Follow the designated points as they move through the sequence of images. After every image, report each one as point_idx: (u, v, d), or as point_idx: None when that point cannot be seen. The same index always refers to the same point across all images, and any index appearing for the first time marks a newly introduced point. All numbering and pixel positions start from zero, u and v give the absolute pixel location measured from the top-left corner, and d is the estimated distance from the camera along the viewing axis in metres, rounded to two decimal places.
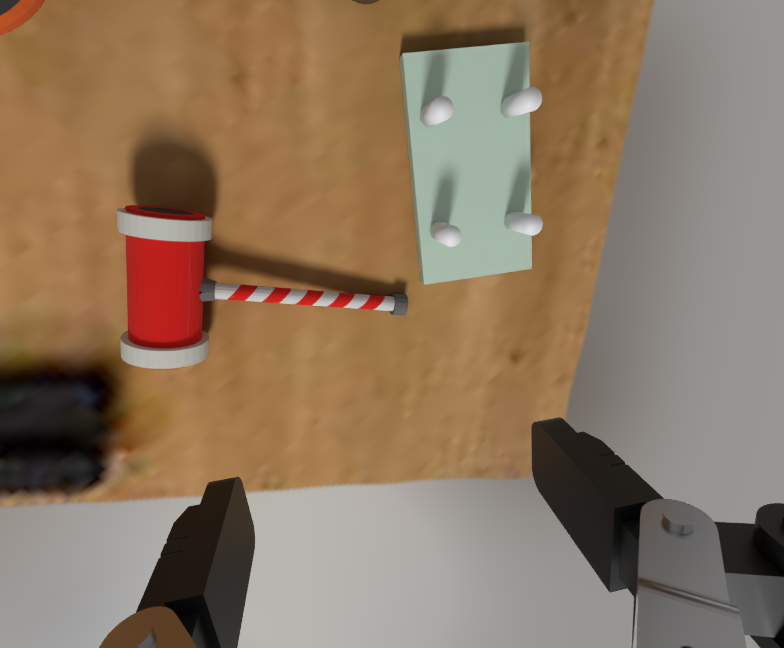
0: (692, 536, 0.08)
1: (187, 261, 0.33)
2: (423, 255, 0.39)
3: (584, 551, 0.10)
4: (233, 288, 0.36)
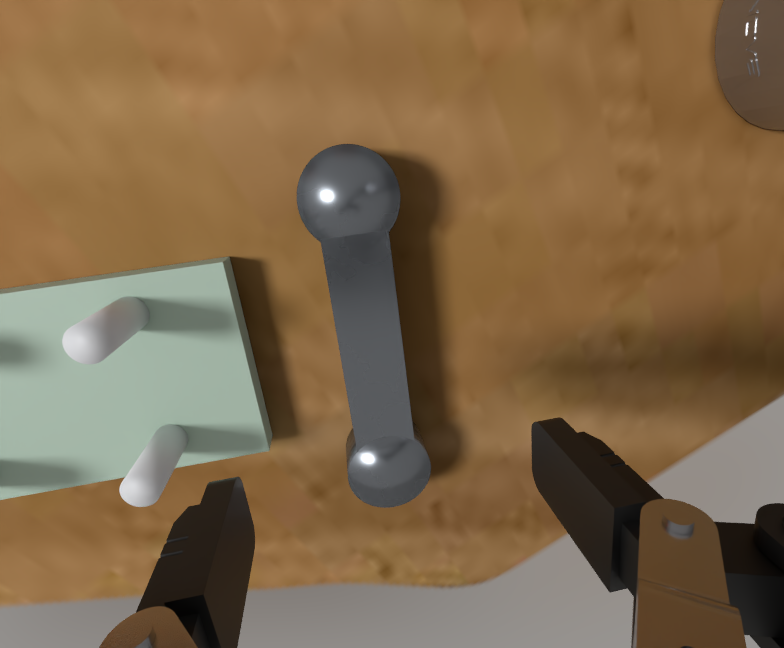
0: (692, 536, 0.08)
1: None
2: None
3: (583, 551, 0.10)
4: None
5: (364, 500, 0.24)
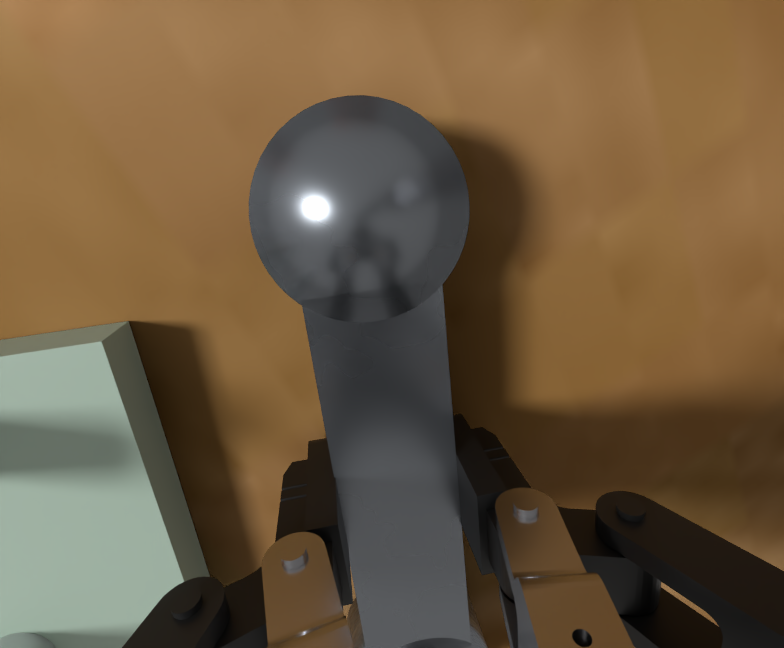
0: (533, 520, 0.09)
1: None
2: None
3: (468, 538, 0.11)
4: None
5: None
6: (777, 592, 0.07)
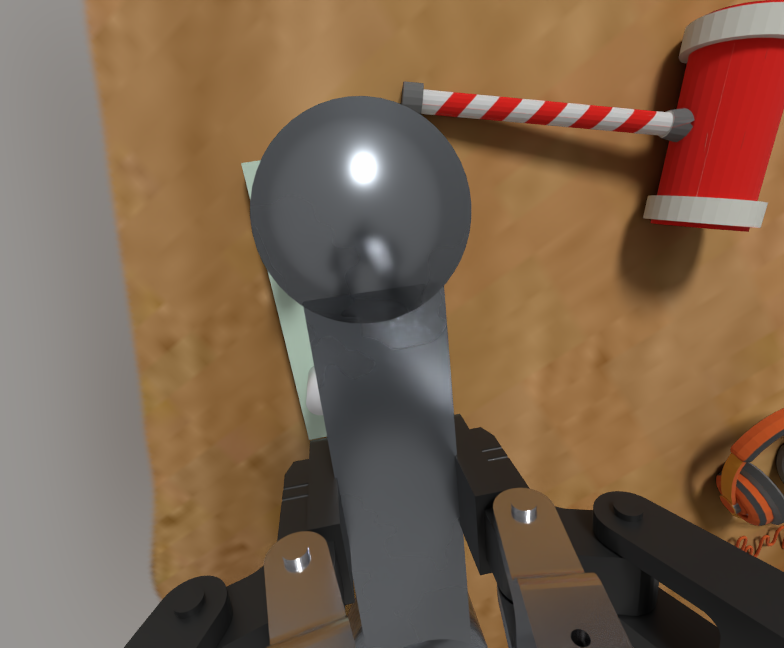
0: (530, 521, 0.09)
1: (706, 169, 0.26)
2: None
3: (466, 538, 0.11)
4: (647, 128, 0.27)
5: None
6: (774, 591, 0.07)
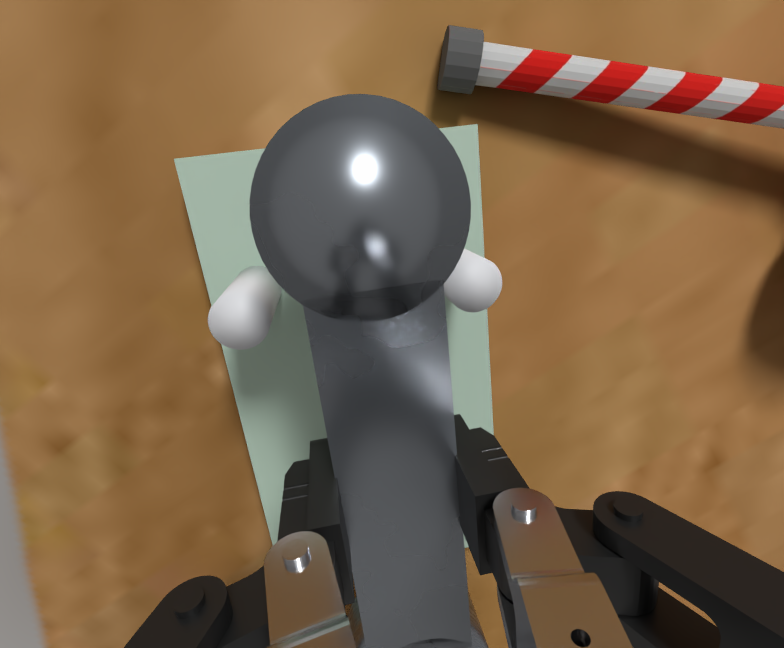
0: (530, 521, 0.09)
1: None
2: (476, 201, 0.16)
3: (466, 539, 0.11)
4: None
5: None
6: (774, 592, 0.07)
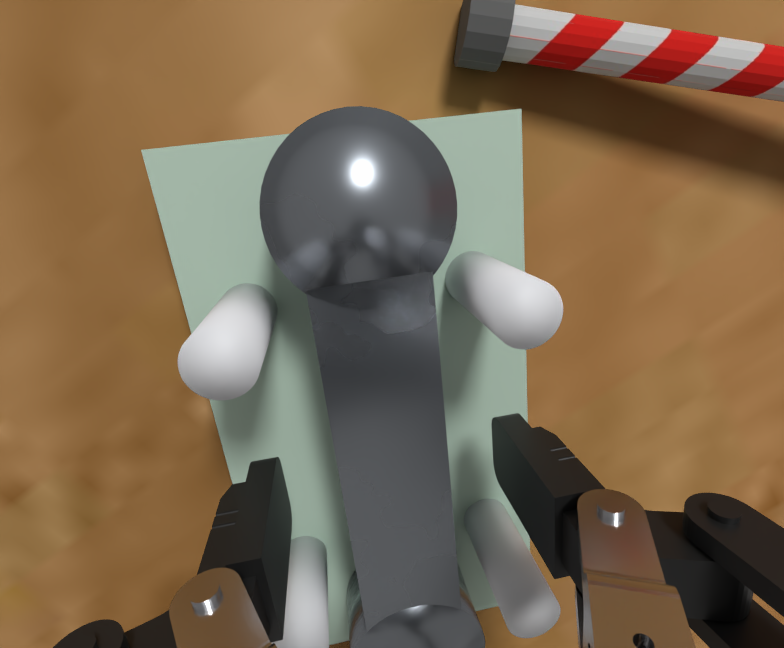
0: (621, 523, 0.08)
1: None
2: (517, 205, 0.13)
3: (534, 541, 0.11)
4: None
5: None
6: None
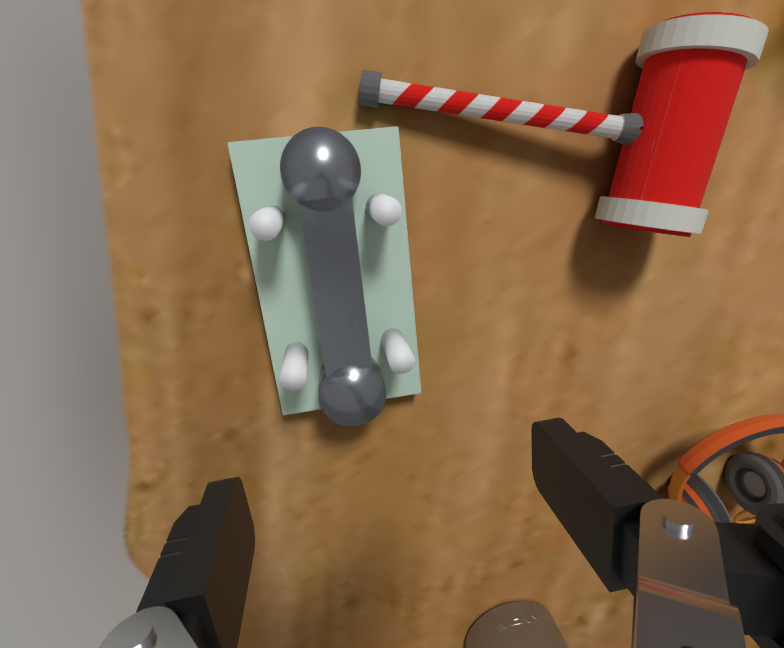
0: (692, 536, 0.08)
1: (651, 174, 0.27)
2: (399, 171, 0.28)
3: (584, 551, 0.10)
4: (598, 130, 0.28)
5: (332, 419, 0.30)
6: None
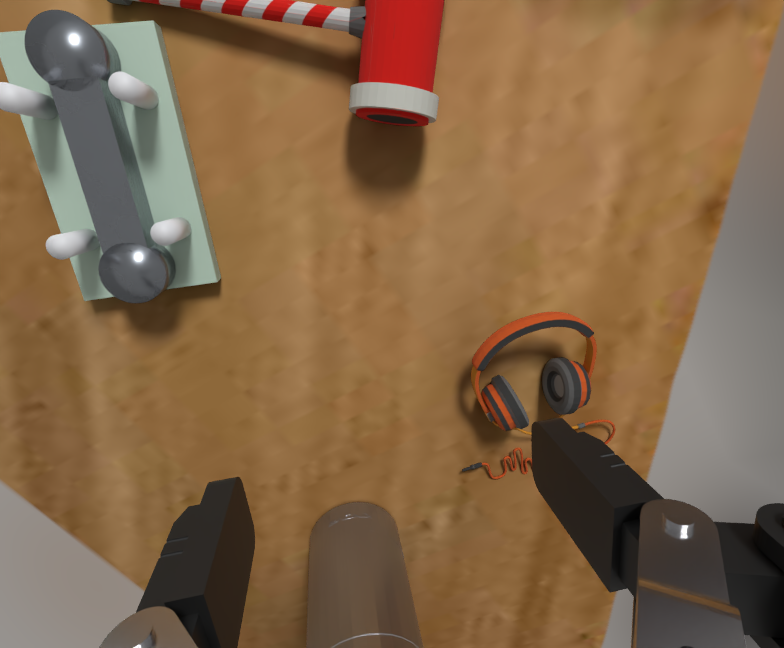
0: (692, 536, 0.08)
1: (372, 58, 0.30)
2: (161, 63, 0.31)
3: (584, 551, 0.10)
4: (328, 22, 0.31)
5: (115, 295, 0.33)
6: None
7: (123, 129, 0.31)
